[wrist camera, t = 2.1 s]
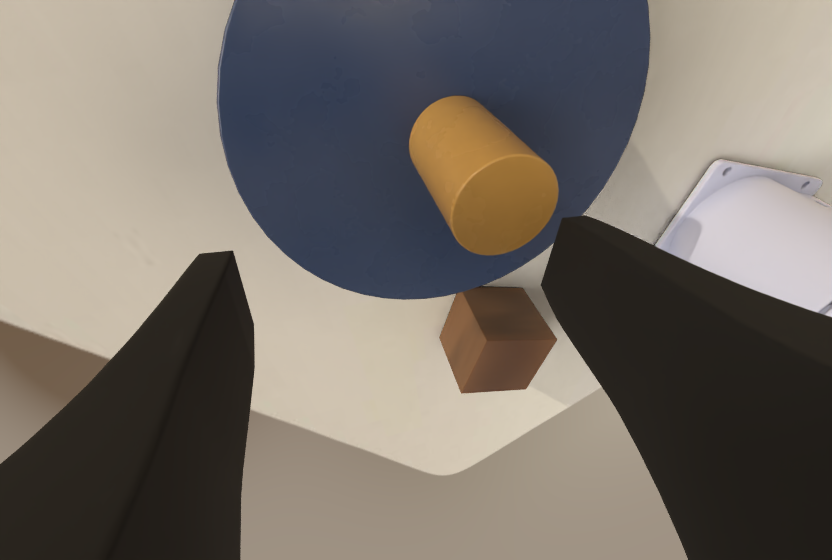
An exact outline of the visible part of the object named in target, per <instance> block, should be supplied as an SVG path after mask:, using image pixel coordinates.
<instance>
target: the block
mask: <svg viewBox="0 0 832 560" xmlns="http://www.w3.org/2000/svg"><path fill="white" fill-rule="evenodd" d="M440 341H441V343H442V346H443V348H444V351H445V353H446V356H447V358H448V361H449V363H450V366H451V369H452V371H453V374H454V376H455V379H456V381H457V384H458V386H459V389H460V392H461V393H475V392H491V391H506V390H521V389H526V388H527V387H528V385H529V384H530V382H531V380H532V379H533V377H534V376H535V374H536V372H537V371H538V369H539V368H540V366H541V365H542V363H543V361H544V360H545V358H546V357H547V355H548V353H549V352H550V350H551V349H552V347H553V346H554V344H555V342H556V341H557V338H556V337H555V335H554V334H553V332H552V331H551V329H550V328H549V326H548V325H547V323H546V322H545V321H544V319H543V318H542V316H541V315H540V313H539V312H538V310H537V309H536V307H535V306H534V304H533V303H532V301H531V300H530V298H529V297H528V295H527V294H526V292H525V291H524V289H523V288H502V287H476V288H473V289H470V290H467V291H464V292H460V293H457V294H456V297H455V299H454V302H453V304H452V307H451V309H450V312H449V314H448V317H447V320H446V322H445V325H444V327H443V330H442V332H441V335H440Z"/></svg>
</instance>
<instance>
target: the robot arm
mask: <svg viewBox="0 0 832 560" xmlns="http://www.w3.org/2000/svg"><path fill="white" fill-rule="evenodd" d="M822 183H823V182H822V180H821V179H819V178H817V177H812V176H807V175H802V174H797V173H791V172H786V171H781V170H776V169H771V168H765V167H760V166H755V165H750V164H744V163H739V162H734V161H729V160H723V159H719V160H717V161H715V162H714V163H712V164H711V165H710V167H709V168H708V170H707V171H706V172H705V174H704V175H703V177H702V178H701V180H700V181H699V183H698V184H697V185H696V187H695V188H694V190H693V191H692V193H691V194H690V195H689V197H688V198H687V200H686V201H685V203H684V204H683V206H682V207H681V208H680V210H679V211H678V213H677V214H676V216H675V217H674V218H673V220H672V221H671V223H670V224H669V226H668V227H667V229H666V230H665V231H664V233H663V234H662V236H661V237H660V239H659V240H658V241H657V243H656V244H655V246H654V245H651V244H649V243H647V242H645V241H643V240H641V239H639V238H637V237H635V236H632V235H630V234H628V233H626V232H624V231H622V230H620V229H617V228H615V227H613V226H611V225H608V224H606V223H604V222H601V221H599V220H596V219H594V218H591V217H588V216H576V217H566V218H562V220H561V223H560V226H559V229H558V232H557V235H556V239H555V242H554V245H553V248H552V251H551V254H550V258H549V261H548V264H547V267H546V270H545V273H544V277H543V280H542V283H541V286H542V289H543V291H544V293H545V295H546V298H547V300H548V302H549V304H550V306H551V308H552V310H553V312H554V314H555V316H556V318H557V320H558V322H559V323H560V325H561V326H562V328H563V330H564V331H565V333H566V334H567V336H568V337H569V339H570V340H571V342H572V343H573V345H574V346H575V348H576V349H577V351H578V352H579V354H580V355H581V357H582V358H583V359H584V361H585V362H586V364H587V365H588V367H589V368H590V370H591V371H592V373H593V374H594V376H595V377H596V379H597V380H598V382H599V383H600V385H601V386H602V388H603V389H604V390H605V392H606V393H607V395H608V396H609V398H610V400H611V401H612V403H613V405H614V406H615V407H616V409H617V411H618V413H619V414H620V416H621V418H622V420H623V422H624V423H625V426H626V428H627V429H628V431H629V433H630V435H631V437H632V439H633V441H634V443H635V444H636V446H637V448H638V450H639V452H640V454H641V456H642V458H643V460H644V462H645V464H646V466H647V468H648V470H649V472H650V474H651V476H652V479H653V480H654V483H655V484H656V487H657V488H658V491H659V493H660V495H661V497H662V500H663V502H664V504H665V506H666V508H667V511H668V513H669V515H670V518H671V520H672V522H673V524H674V526H675V529H676V531H677V533H678V536H679V538H680V540H681V543H682V545H683V548H684V550H685V553H686V555H687V558H688V560H832V206H831V205H829V204H827V203H825V202H823V201H821V200H819V199H817V198H816V197H814V196H813V195H814V194H815V193H816V192H817V190H818V189H819V188H820V187H821V186H822ZM254 368H255V366H254V323H253V320H252V316H251V313H250V309H249V306H248V302H247V299H246V295H245V292H244V288H243V284H242V281H241V277H240V274H239V270H238V267H237V263H236V260H235V256H234V253H233V251H224V252H214V253H204V254H199V255H198V256H197V257H196V258H195V260H194V261H193V262H192V263H191V264H190V266H189V267H188V268H187V269H186V271H185V272H184V273H183V275H182V276H181V277H180V278H179V280H178V281H177V282H176V284H175V285H174V286H173V287H172V289H171V290H170V291H169V292H168V294H167V295H166V296H165V297H164V299H163V300H162V301H161V302H160V304H159V305H158V306H157V307H156V309H155V310H154V311H153V312H152V313H151V315H150V316H149V317H148V318H147V319H146V321H145V322H144V323H143V324H142V325H141V326H140V328H139V329H138V330H137V331H136V332H135V334H134V335H133V336H132V337H131V338H130V339H129V341H128V342H127V343H126V344H125V345H124V346H123V347H122V348H121V349H120V350H119V351H118V353H117V354H116V355H115V356H114V357H113V358H112V359H111V360H110V361H109V362H108V363H107V364H106V366H105V367H104V368H103V369H102V370H101V371H100V372H99V373H98V374H97V375H96V377H94V378H93V380H92V381H91V382H90V383H89V384H88V385H87V386H86V387H85V388H84V389H83V390H82V391H81V392H80V393H79V394H78V395H77V396H75V397H74V398H73V399H72V400H71V401H70V402H69V403H68V404H67V405H66V406H65V407H64V408H63V409H62V410H61V411H60V412H59V413H58V414H56V415H55V416H54V417H53V418H52V419H51V420H50V421H49V422H48V423H47V424H46V425H45V426H44V427H42V429H40V430H39V431H38V432H37V433H36V434H35V435H34V436H33V437H31V438H30V439H29V440H28V441H27V442H26V443H25V444H24V445H22V446H21V447H20V448H19V449H18V450H17V451H16V452H14V453H13V454H12V455H11V456H10V457H8V458H7V459H6V460H5V461H3V462H2V463H1V464H0V560H240V535H241V490H242V476H243V465H244V457H245V448H246V439H247V431H248V422H249V414H250V405H251V396H252V387H253V378H254Z"/></svg>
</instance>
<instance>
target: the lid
mask: <svg viewBox="0 0 832 560" xmlns="http://www.w3.org/2000/svg"><path fill="white" fill-rule="evenodd" d="M649 51H650V24H649V9H648V2H647V0H234V3H233V6H232V9H231V12H230V15H229V18H228V21H227V24H226V27H225V31H224V36H223V42H222V48H221V53H220V59H219V64H218V82H217V109H218V119H219V128H220V136H221V140H222V144H223V148H224V152H225V157H226V161H227V165H228V167H229V170H230V172H231V175H232V177H233V180H234V182H235V185H236V187H237V190H238V192H239V194H240V196H241V198H242V199H243V201H244V203H245V205H246V206H247V208H248V210H249V212H250V213H251V215H252V217H253V218H254V219H255V221H256V222H257V223H258V225H259V226H260V227H261V229H262V230H263V231H264V232H265V234H266V235H267V236H268V237H269V238H270V239H271V240H272V241H273V242H274V243H275V244H276V245H277V246H278V247H279V248H280V249H281V250H282V251H283V252H284V253H285V254H286V255H287V256H288V257H289V258H291V259H292V260H293V261H295V262H296V263H297V264H299V265H300V266H301V267H302V268H304V269H305V270H307V271H309V272H311V273H312V274H314V275H316V276H317V277H319V278H321V279H323V280H325V281H327V282H329V283H332V284H334V285H336V286H339V287H341V288H343V289H347V290H350V291H353V292H357V293H360V294H364V295H369V296H375V297H380V298H389V299H403V300H404V299H427V298H434V297H442V296H447V295H451V294H456V293H460V292H464V291H467V290H470V289H473V288H476V287H479V286H482V285H485V284H487V283H489V282H492V281H494V280H496V279H498V278H501V277H503V276H505V275H507V274H508V273H510V272H512V271H514V270H516V269H518V268H519V267H521V266H523V265H524V264H526V263H527V262H529V261H530V260H532V259H533V258H535V257H536V256H538V255H539V254H540V253H542V252H543V251H544V250H546V249H547V248H548V247H549V246H551V245H552V244H553V243H554V242H555V239H556V235H557V232H558V229H559V226H560V223H561V220H562V218H566V217H576V216H582V214H583V213H584V212H585V211H586V210H587V209H588V208H589V206H590V205H591V204H592V202H593V201H594V200H595V198H596V197H597V196H598V194H599V193H600V192H601V190H602V189H603V187H604V186H605V184H606V183H607V181H608V179H609V178H610V176H611V174H612V173H613V171H614V170H615V168H616V166H617V164H618V162H619V160H620V158H621V156H622V154H623V152H624V150H625V148H626V146H627V144H628V141H629V139H630V136H631V133H632V131H633V128H634V126H635V123H636V120H637V117H638V114H639V110H640V106H641V103H642V99H643V95H644V91H645V85H646V79H647V73H648V67H649Z"/></svg>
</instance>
